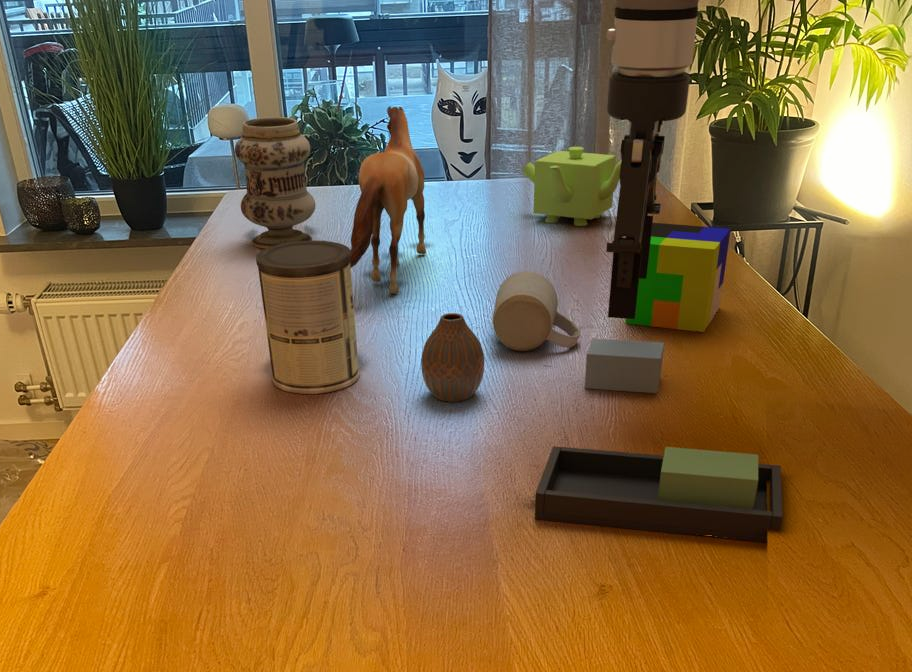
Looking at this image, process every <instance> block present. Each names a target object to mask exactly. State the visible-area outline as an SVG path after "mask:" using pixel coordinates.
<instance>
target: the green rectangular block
mask: <svg viewBox="0 0 912 672" xmlns="http://www.w3.org/2000/svg"><path fill="white" fill-rule="evenodd" d="M663 456H664V457H663V463H662V468H661V475H660V484H659V492H658V501H667V502H677V503H688V504H698V505H709V506H719V507H730V508H740V509H751V510H753V507H754V502H755V496H756V491H757V485H758V464H759V454H758V453H757V454H754V453H746V452H744V453H743V452H730V451H719V450H710V449H709V450H708V449H698V448H697V449H696V448H684V447H672V446H665V447H664V452H663Z"/></svg>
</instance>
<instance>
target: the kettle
mask: <svg viewBox="0 0 912 672" xmlns="http://www.w3.org/2000/svg"><path fill="white" fill-rule="evenodd" d="M567 149H568V150H567V151H565V150H557V151H555V152H552V153H551V154H547V155H545V156H543V157H541V158H539V159H537V160H534V164H533V163H532V162H531V161H530V162H528V163H527V164H526V165H525V166H524V167H523V169H522V171H521V173H522V174H523V175H524V176H525V177H526V178H528V179H529V181H531V182H532V184H533V210H532V211H533V212H532V213H533V214H539V215H546V218H545V220H544V222H545V223H551V224H553V223H557V222H558V221H559V219H560V217H563V218H564V217H566V218H573V225H574V226H576V227H584V226H588V221H587V220H593V219H599V218H601V214H603V213H605V212H606V211H609V210H610V209H612V208H613V201H614V193H615V191H616V190H617V188H618V185H619V183H620V177H619V175H620V168H621V161H622V160H620V161H618V162H617V161H616V160H617V156H616V155H614V154H603V153H590V152H584V151H585V148H584V147H582V146H571V147H568V148H567ZM616 162H617V163H616Z"/></svg>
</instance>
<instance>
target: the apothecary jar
mask: <svg viewBox="0 0 912 672" xmlns="http://www.w3.org/2000/svg"><path fill="white" fill-rule="evenodd" d="M310 153H311V145H310V142H309V140H308V139H307V138H306V136H304V135H303V134H302V133H301V131H300V129H299V123H298V120H296V119H295V118H292V117H283V116H263V117H255V118H251V119H247V120H245V121H243V122H242V133H241V137H240V138H239V139H238V140H237V142H236V143H235V146H234V154H235V157H236V158H237V160H238V161H239V162H240V163H242V164H243V167H244V171H245V182H246V193H245V195H244V196H243V197H242V199H241V201H240V211H241V214H242V215H243V217H245V218H246V219H247V220H248V221H249V222H250V223H252V224H254V225H256V226H260V227H264V228H266V229H267V230H265V231H263V232H261V233H260V234H258V235H256V236H255V237H253V239H252V241H251V244H252V246H253V247H255V248H257V249H262V250H264V249H266V248H268V247H271V246H275V245H278V244H283V243H289V242H296V241H313V238H312V236H311V235H309V234H308V233H305V232H303V231H302V230H299V229H295V228H294V226H297V225H299V224H300V225H301V224H302V223H304V222H306V221H308V219H310V218H311V217H312V216H313V214H314V213H315V211H316V206H317V205H316V199H315V198H314V196H313V195H312V194H311V192H309V191H308V189H307V181H306V172H305V171H306V169H305V160H307V159H308V158H309V156H310Z"/></svg>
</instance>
